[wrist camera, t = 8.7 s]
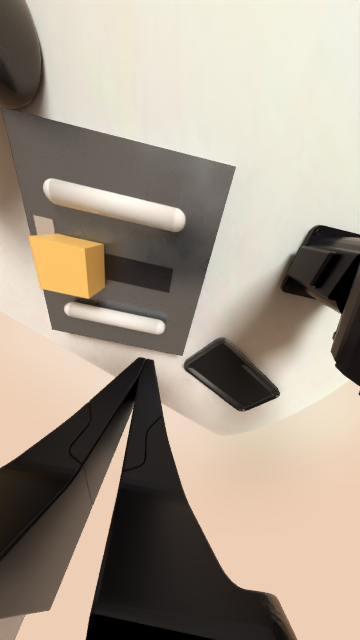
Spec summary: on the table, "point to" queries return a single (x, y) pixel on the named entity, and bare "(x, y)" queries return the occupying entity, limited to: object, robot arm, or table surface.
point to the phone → (231, 375)
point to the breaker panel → (124, 223)
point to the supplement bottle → (18, 55)
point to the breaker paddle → (68, 264)
